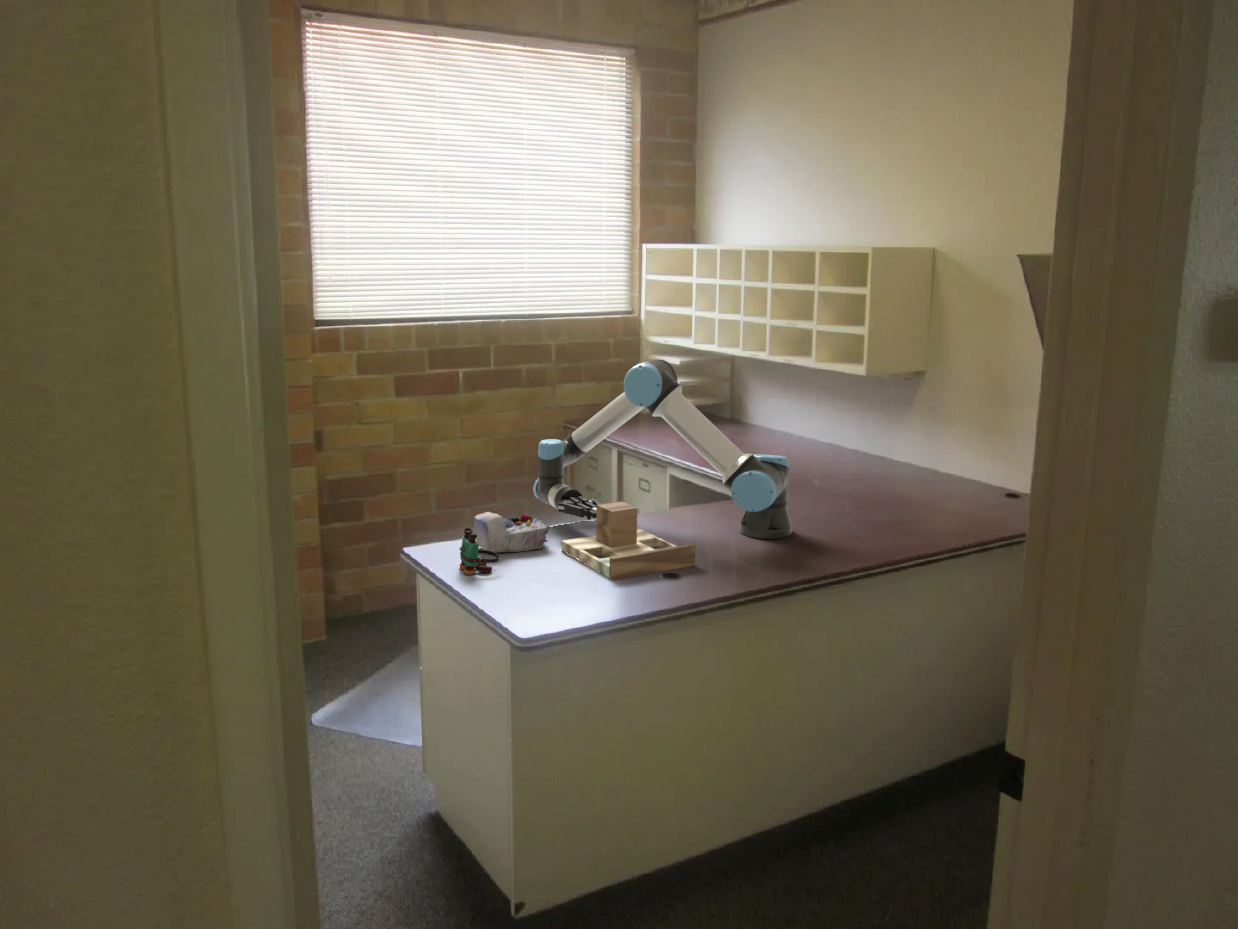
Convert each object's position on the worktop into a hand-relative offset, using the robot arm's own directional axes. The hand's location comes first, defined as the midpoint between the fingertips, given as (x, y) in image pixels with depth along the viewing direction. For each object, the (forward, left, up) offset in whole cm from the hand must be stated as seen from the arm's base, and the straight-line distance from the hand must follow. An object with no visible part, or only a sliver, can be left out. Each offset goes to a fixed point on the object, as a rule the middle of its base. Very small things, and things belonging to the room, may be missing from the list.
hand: (605, 517), depth 273 cm
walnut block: (-4, +1, -6) cm, 7 cm away
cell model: (+22, +14, -9) cm, 27 cm away
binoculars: (+16, +34, -9) cm, 38 cm away
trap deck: (-9, +3, -9) cm, 13 cm away
